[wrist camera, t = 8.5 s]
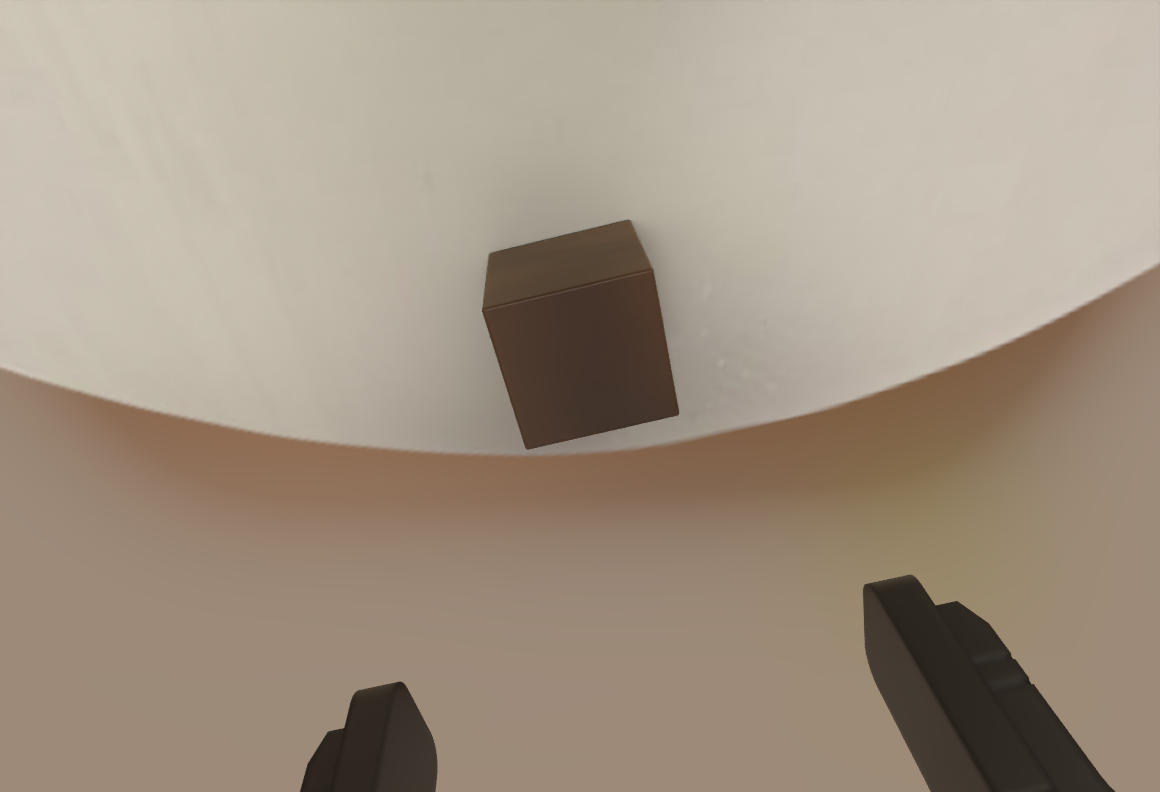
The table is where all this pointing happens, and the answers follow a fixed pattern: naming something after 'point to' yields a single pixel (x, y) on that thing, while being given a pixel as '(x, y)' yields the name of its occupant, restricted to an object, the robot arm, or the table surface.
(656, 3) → the table surface
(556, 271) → the walnut block
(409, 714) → the robot arm
